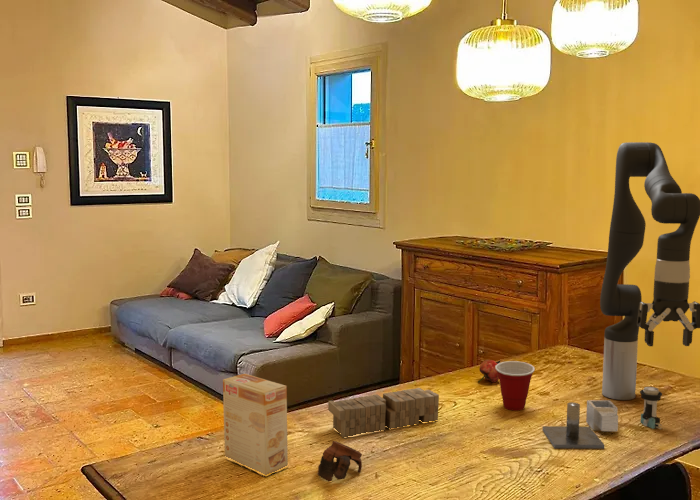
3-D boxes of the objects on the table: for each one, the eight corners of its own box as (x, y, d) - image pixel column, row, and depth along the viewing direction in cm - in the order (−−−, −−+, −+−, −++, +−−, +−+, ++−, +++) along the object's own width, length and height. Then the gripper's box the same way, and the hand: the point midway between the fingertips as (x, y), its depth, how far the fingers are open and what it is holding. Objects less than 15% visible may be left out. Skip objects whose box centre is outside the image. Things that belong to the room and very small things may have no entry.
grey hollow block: (586, 421, 192) (587, 400, 191) (608, 422, 192) (609, 400, 191) (597, 435, 182) (598, 412, 181) (621, 435, 182) (622, 412, 181)
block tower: (423, 416, 200) (326, 430, 187) (424, 386, 199) (327, 398, 186) (438, 425, 193) (339, 440, 180) (439, 395, 192) (339, 407, 179)
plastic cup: (490, 411, 200) (491, 369, 199) (498, 399, 210) (499, 359, 209) (530, 416, 196) (531, 373, 195) (536, 403, 206) (537, 363, 205)
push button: (668, 429, 186) (670, 392, 185) (652, 432, 184) (654, 394, 183) (650, 420, 192) (651, 384, 191) (634, 423, 190) (635, 386, 189)
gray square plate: (542, 430, 186) (543, 396, 185) (589, 430, 186) (590, 396, 185) (554, 448, 174) (555, 412, 173) (604, 448, 174) (605, 412, 173)
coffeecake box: (289, 468, 164) (287, 385, 161) (265, 478, 159) (263, 392, 156) (247, 450, 174) (245, 372, 171) (223, 459, 169) (221, 378, 166)
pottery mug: (311, 470, 164) (325, 436, 165) (348, 486, 165) (362, 452, 167) (319, 479, 152) (335, 442, 154) (359, 496, 153) (374, 459, 155)
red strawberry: (488, 393, 223) (512, 372, 224) (473, 375, 222) (498, 354, 223) (480, 388, 230) (504, 368, 231) (466, 370, 229) (490, 350, 230)
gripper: (694, 275, 172) (690, 341, 174) (635, 275, 172) (631, 341, 175) (710, 281, 165) (705, 349, 167) (647, 281, 165) (643, 350, 167)
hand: (667, 345), depth 171 cm, fingers open, 8 cm apart
